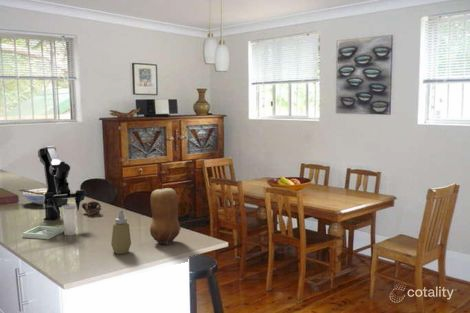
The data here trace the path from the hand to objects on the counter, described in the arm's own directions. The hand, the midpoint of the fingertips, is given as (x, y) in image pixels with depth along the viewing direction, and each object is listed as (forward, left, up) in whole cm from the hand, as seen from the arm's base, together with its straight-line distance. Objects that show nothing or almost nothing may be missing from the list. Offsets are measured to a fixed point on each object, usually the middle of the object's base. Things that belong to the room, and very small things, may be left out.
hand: (68, 211), depth 210 cm
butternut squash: (+49, -4, -11) cm, 50 cm away
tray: (-9, -6, -11) cm, 15 cm away
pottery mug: (-8, +38, -11) cm, 41 cm away
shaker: (+2, -2, -11) cm, 11 cm away
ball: (-6, -9, -10) cm, 15 cm away
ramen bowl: (-47, +55, -11) cm, 73 cm away
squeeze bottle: (+35, -20, -11) cm, 41 cm away
